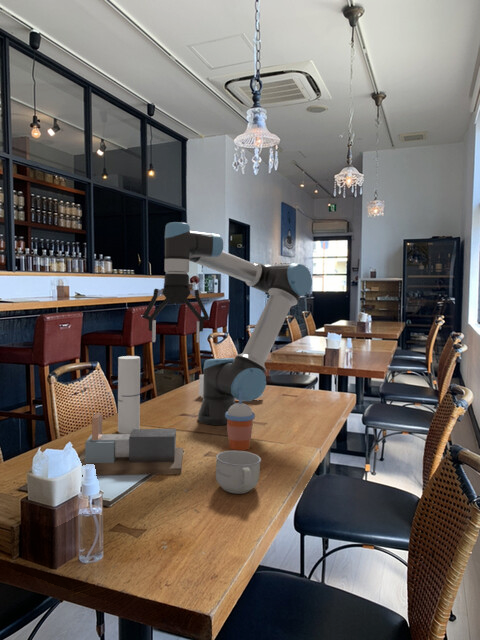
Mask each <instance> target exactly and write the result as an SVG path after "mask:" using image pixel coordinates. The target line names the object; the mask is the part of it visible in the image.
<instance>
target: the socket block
mask: <svg viewBox="0 0 480 640" xmlns="http://www.w3.org/2000/svg"><path fill="white" fill-rule="evenodd" d="M91 440H92V434H90V436H89V437H88V438H87V440H86V441H85V443H84V446H85V448H84V450H85V463H114V461H115V459H116V457H114V442H91Z"/></svg>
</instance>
